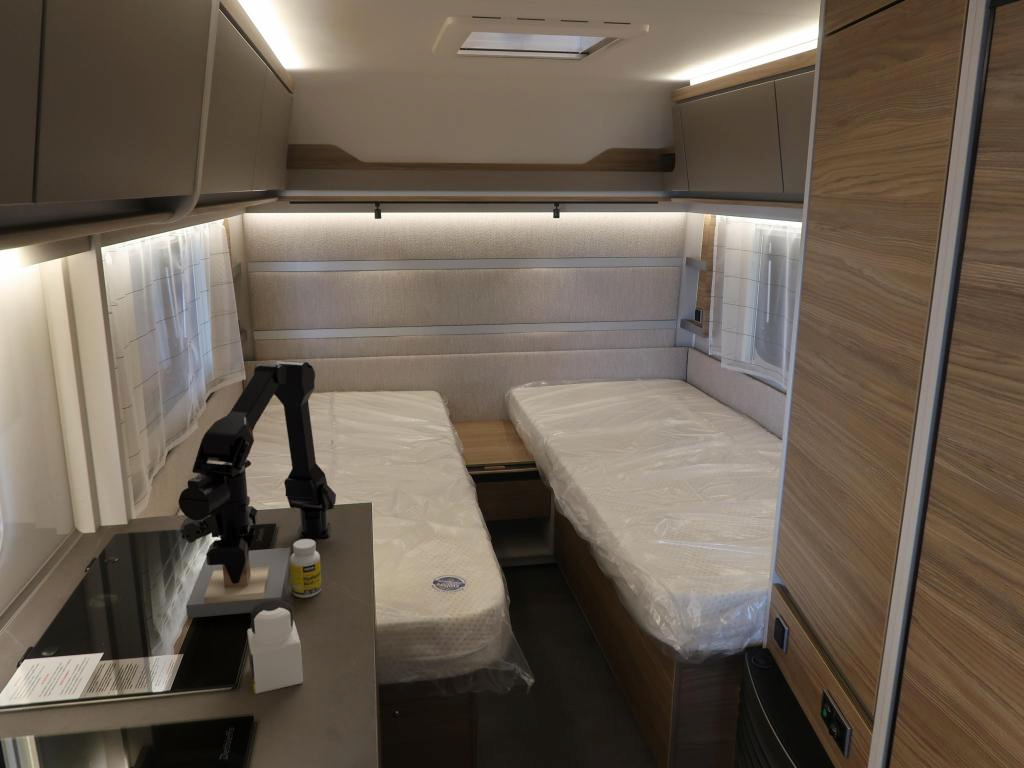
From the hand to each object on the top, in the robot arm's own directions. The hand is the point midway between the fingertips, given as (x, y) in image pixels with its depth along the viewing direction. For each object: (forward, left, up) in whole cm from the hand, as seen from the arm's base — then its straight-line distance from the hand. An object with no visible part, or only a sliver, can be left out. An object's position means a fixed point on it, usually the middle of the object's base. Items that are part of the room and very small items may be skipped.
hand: (237, 577), depth 142 cm
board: (-5, 0, -4) cm, 7 cm away
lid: (0, 0, -2) cm, 2 cm away
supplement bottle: (-1, +12, -5) cm, 13 cm away
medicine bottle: (+25, +9, -5) cm, 27 cm away
